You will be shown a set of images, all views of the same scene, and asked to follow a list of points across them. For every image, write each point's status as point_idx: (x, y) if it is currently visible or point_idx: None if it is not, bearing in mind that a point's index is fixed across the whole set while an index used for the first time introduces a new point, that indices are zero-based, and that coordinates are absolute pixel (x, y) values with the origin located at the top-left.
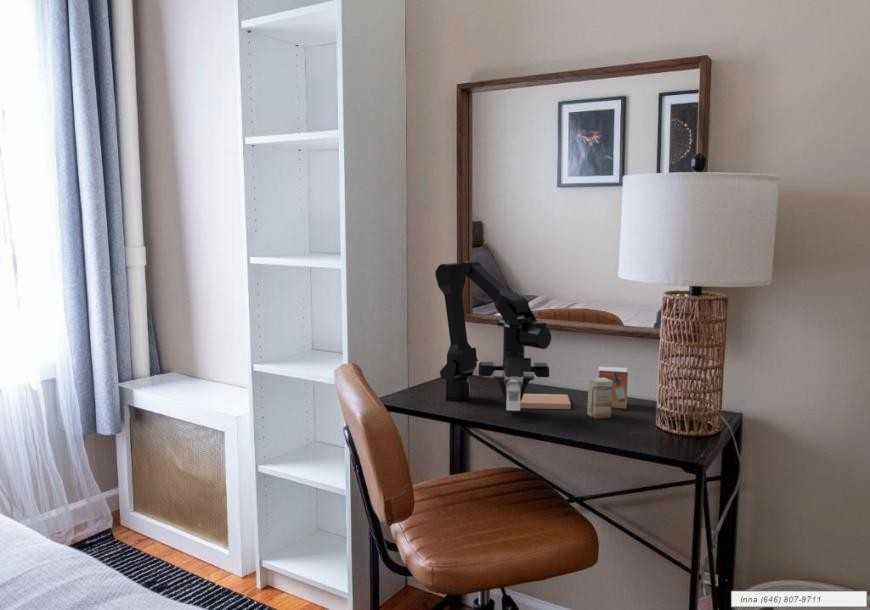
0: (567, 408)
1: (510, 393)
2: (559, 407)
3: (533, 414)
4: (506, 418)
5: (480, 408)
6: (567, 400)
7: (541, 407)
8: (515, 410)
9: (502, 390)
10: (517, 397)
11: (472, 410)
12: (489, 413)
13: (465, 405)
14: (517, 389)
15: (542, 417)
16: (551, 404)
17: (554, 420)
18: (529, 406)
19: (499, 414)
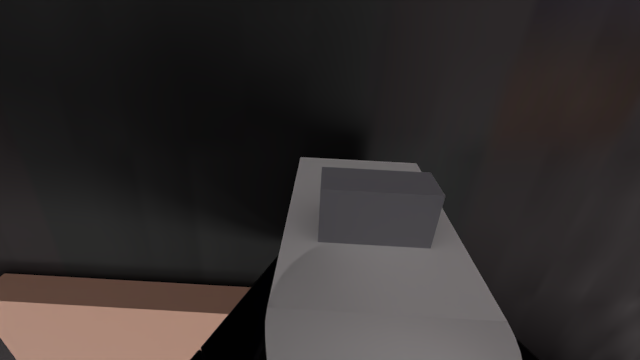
0: (18, 276)
1: (425, 276)
2: (61, 283)
3: (207, 178)
4: (421, 72)
5: (536, 287)
6: (19, 349)
7: (168, 288)
8: (339, 159)
9: (531, 355)
10: (324, 191)
11: (607, 254)
12: (516, 196)
13: (601, 330)
14: (317, 330)
15: (132, 107)
16: (96, 300)
17: (14, 21)
18: (237, 295)
19: (451, 175)
